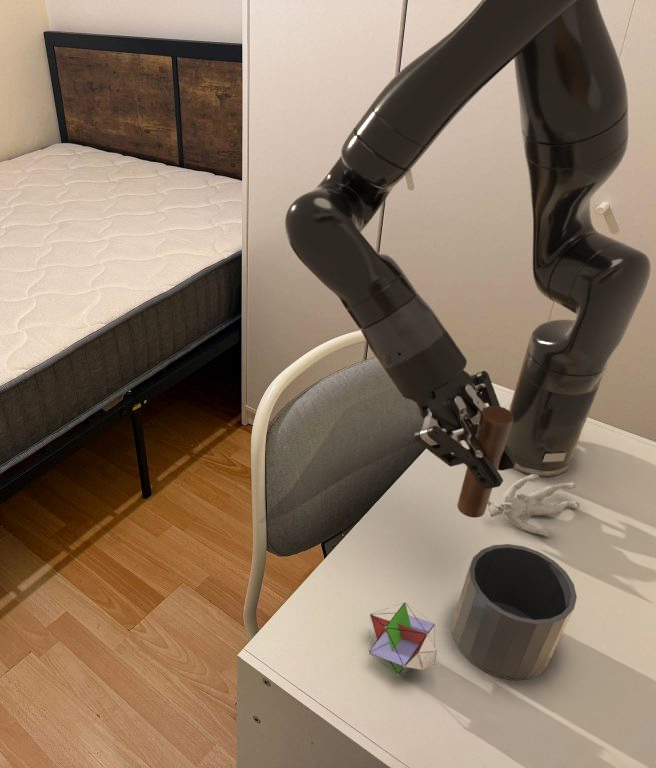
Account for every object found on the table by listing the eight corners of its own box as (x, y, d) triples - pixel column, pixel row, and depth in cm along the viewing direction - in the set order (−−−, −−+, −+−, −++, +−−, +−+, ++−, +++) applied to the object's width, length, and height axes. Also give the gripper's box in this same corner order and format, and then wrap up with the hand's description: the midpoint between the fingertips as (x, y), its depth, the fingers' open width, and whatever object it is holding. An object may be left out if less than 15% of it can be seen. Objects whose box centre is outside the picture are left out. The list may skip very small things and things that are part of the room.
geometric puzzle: (340, 636, 80) (388, 627, 74) (372, 597, 84) (420, 585, 77) (382, 690, 80) (434, 685, 73) (413, 648, 83) (465, 640, 77)
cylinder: (461, 495, 86) (486, 402, 77) (488, 504, 84) (516, 411, 76) (453, 511, 84) (478, 418, 75) (481, 521, 82) (509, 427, 74)
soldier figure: (586, 529, 94) (525, 541, 88) (551, 530, 98) (490, 541, 93) (573, 469, 95) (512, 476, 90) (539, 473, 99) (479, 480, 94)
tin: (465, 587, 87) (483, 531, 81) (557, 625, 82) (583, 568, 76) (441, 652, 80) (458, 595, 74) (539, 696, 76) (566, 640, 70)
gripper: (407, 365, 72) (506, 508, 72) (469, 304, 79) (557, 434, 80) (353, 387, 78) (444, 519, 78) (415, 329, 86) (498, 449, 86)
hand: (501, 475), depth 79 cm, fingers closed on cylinder, 3 cm apart
